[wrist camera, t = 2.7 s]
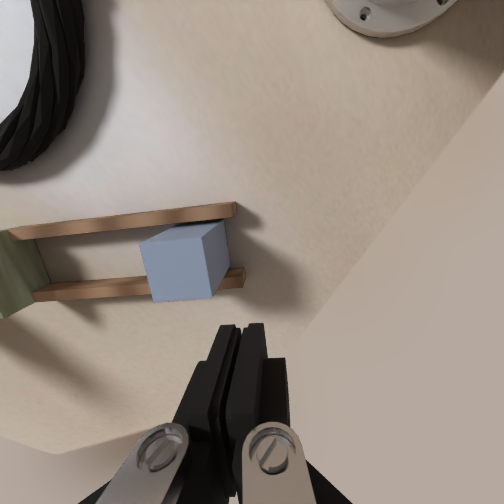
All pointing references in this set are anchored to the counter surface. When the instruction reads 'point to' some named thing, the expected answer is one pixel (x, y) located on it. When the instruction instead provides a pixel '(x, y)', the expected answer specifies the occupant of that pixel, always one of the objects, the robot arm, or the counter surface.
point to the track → (40, 290)
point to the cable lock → (46, 83)
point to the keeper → (186, 261)
